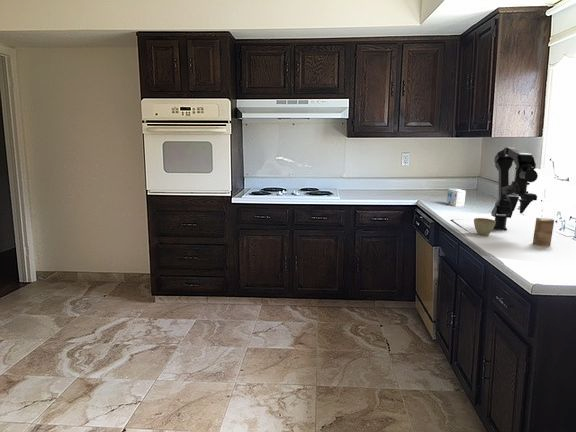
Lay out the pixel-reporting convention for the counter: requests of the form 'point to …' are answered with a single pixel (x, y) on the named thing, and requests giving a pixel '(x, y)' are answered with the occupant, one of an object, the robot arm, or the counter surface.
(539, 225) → the walnut block
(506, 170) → the robot arm
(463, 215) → the counter surface
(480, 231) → the flower pot
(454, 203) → the light bulb box
